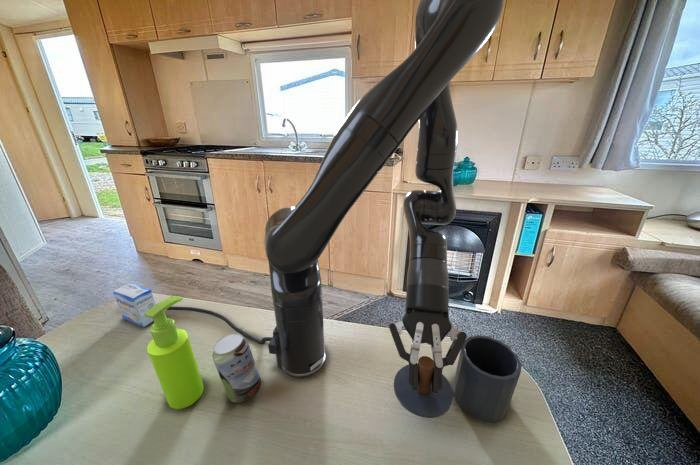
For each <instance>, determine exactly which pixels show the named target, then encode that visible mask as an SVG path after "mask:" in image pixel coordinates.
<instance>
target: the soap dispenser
mask: <svg viewBox="0 0 700 465" xmlns="http://www.w3.org/2000/svg"><path fill="white" fill-rule="evenodd" d="M182 300H183V297H182V296H178V295H172V296H169V297H167V298H165V299H163V300H161V301H159V302H158V303H156V305H155V306H154V307H152V308H151V309H150V310H148V311H147V312H146V313H144V314H145V316H146V317H149V318H152V319H153V320H154V321H153V324H152V325H151V326H150V327H149V328H150V329H149V331H150V333H151V336H152V339H151V340H150V341H149V343H148V345H147V346H146V351H147V354H148V356H149V359H150V361H151V363H152V366H153V369H154V371H155V373H156V376H157V379H158V381H159V384H160V386H161V389H162V392H163V394H164V396H165V398H166V401H167V404H168V406H169V407H170V408H171V409H174V410H182V409H185V408H188V407H190V406H192V405H193V404H194V403H196V402H197V401H198V400H199V399H200V397H201V396H202V394H203V392H204V389H205V388H204V387H205V386H204V383H203V380H202V377H201V373H200V370H199V367H198V363H197V360H196V357H195V353H194V350H193V347H192V344H191V341H190V338H189V334H188V332H187V330H185V329H182V328H177V325H176V322H175V320H174V319H173V318H169V317H168V318H167V315H166V311H167V309H168V308H169V307H173V306H174V305H176V304H178V303H179V302H182Z"/></svg>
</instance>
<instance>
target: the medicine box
mask: <svg viewBox="0 0 700 465" xmlns="http://www.w3.org/2000/svg"><path fill="white" fill-rule="evenodd" d="M112 294H113V296H114V299H115V302H116V304H117V307H118V310H119V312H120V315H121V317H122V319H123V320H124V321H127V322H130V323H132V324H135V325H137V326H140V327H142V328H144V327H146V326H148V325H149V324H151V323H154V320H153V319H152V318H149V317H146V316H145V314H144V313H146V312H147V311H148V310H150V309H151V308H152V307H154V306H155V305H156V304H157V303H156V299H155V297H154V294H153V291H152V289H150V288H147V287H144V286H141V285H138V284H135V283H132V282H129V283H127V284H125V285H122V286H120V287H117V289H115V290H113V291H112Z"/></svg>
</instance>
